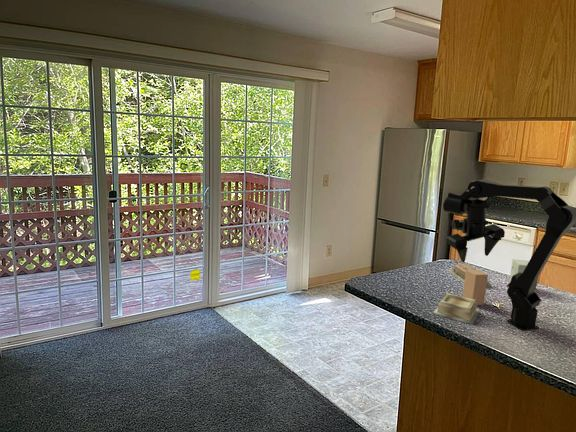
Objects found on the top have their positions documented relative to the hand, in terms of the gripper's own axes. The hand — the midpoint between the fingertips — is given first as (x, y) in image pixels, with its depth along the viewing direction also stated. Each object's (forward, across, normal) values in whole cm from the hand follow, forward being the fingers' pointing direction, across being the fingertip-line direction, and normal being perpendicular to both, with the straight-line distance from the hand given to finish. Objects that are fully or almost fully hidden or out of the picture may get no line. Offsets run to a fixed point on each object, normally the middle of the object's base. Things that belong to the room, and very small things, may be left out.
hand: (474, 258), depth 148 cm
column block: (+15, +2, +3) cm, 16 cm away
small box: (+24, -25, -6) cm, 35 cm away
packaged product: (+23, -12, -19) cm, 32 cm away
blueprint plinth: (+12, +14, +10) cm, 21 cm away
